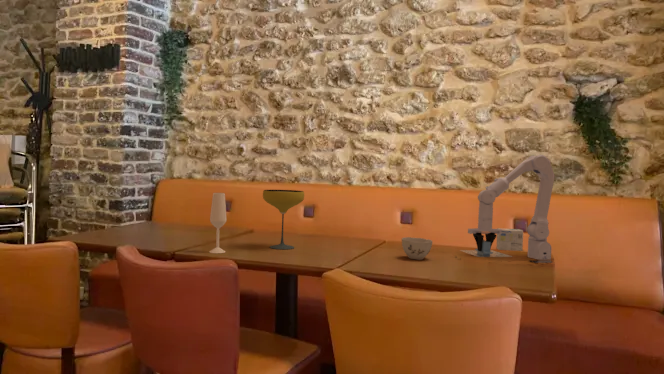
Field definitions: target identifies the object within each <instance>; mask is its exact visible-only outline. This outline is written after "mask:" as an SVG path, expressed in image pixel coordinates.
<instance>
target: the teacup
mask: <svg viewBox="0 0 664 374" xmlns="http://www.w3.org/2000/svg"><path fill="white" fill-rule="evenodd" d="M401 246H402V249H403V252H404V253H405V255H406V256H407V257H408V258H409V259H411V260H420V261H421V260H423V259H424V258H426V257H427V255H428V254H429V253H430V252H431V250H432V246H433V240H432V239H429V238H428V239H427V238H422V237H409V236H408V237H407V236H406V237H402V238H401Z"/></svg>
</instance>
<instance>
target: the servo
mask: <svg viewBox="0 0 664 374" xmlns="http://www.w3.org/2000/svg"><path fill="white" fill-rule="evenodd" d="M490 247H491V248H492V246H491V242H489V241H486V239H484V238H483V242H482V251H478V248H474V250H476V251H477V254H478V255H481V256H490V254H493V252H491V251H490V250H491V249H490Z"/></svg>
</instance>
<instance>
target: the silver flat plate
mask: <svg viewBox="0 0 664 374" xmlns="http://www.w3.org/2000/svg"><path fill="white" fill-rule="evenodd" d="M459 251H460V252H463V253H466V254H468V255H472V256H474V257H477V258H513V257H514V256H512V255H509V254H506V253H502V252H499V251H495V250H492V249H490V251H491V252H493V254H490V256H481V255H478V254H477V251H476V250H475V249H474V250H473V249H469V250H467V249H464V250H463V249H460V250H459Z"/></svg>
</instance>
